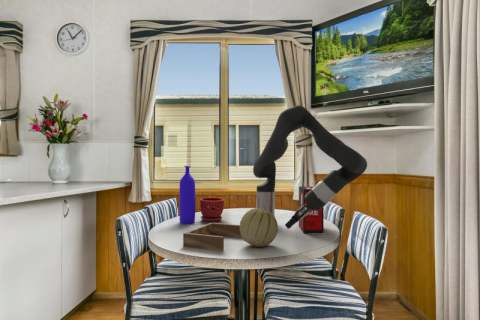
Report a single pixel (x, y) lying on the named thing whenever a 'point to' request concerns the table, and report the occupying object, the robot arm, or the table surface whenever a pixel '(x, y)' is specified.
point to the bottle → (187, 198)
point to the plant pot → (211, 209)
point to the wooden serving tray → (210, 236)
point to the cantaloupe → (258, 227)
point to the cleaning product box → (310, 215)
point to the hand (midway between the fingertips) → (287, 226)
